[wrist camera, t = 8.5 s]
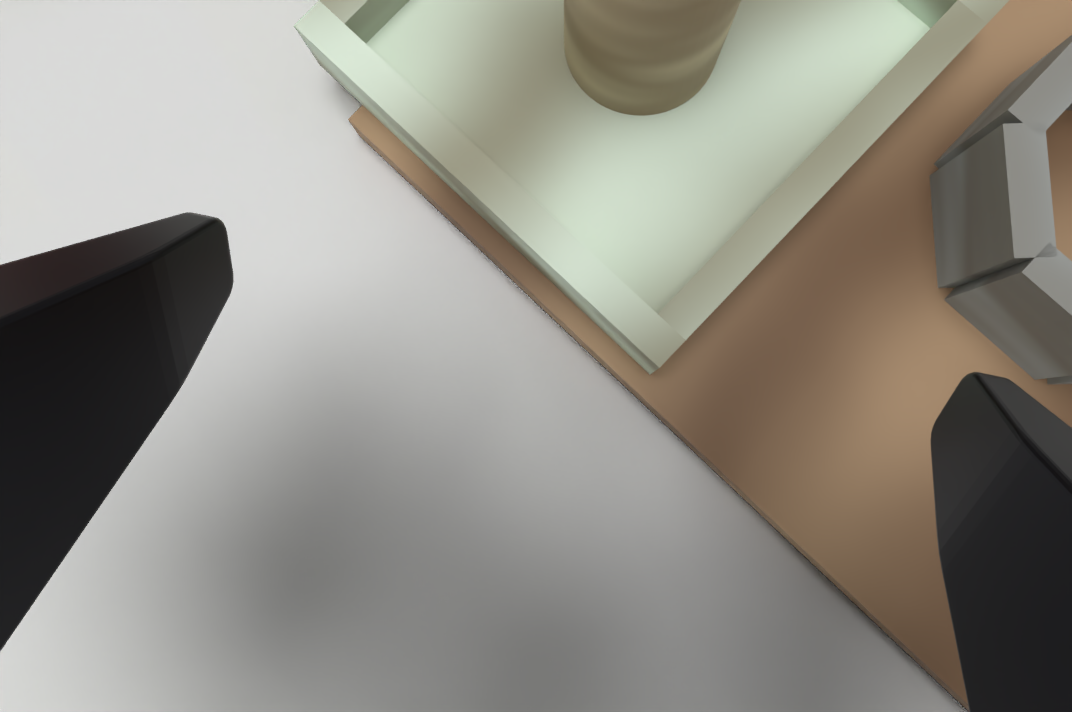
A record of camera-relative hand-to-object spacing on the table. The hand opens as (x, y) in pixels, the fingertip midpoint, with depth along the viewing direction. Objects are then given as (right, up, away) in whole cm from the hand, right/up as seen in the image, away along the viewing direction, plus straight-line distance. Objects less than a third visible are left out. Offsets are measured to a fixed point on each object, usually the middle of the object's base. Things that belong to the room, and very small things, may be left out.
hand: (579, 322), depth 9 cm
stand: (+8, +3, +10) cm, 13 cm away
